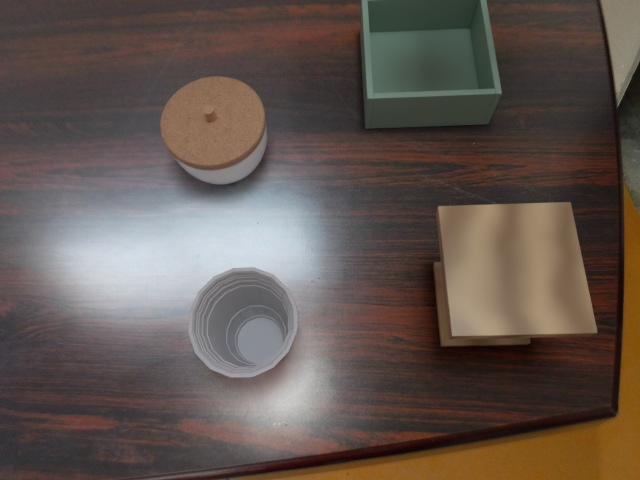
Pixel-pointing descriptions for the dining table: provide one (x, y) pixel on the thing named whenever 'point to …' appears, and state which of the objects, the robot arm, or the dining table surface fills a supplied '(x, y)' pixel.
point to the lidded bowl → (215, 129)
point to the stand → (510, 275)
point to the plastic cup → (242, 322)
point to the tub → (427, 63)
